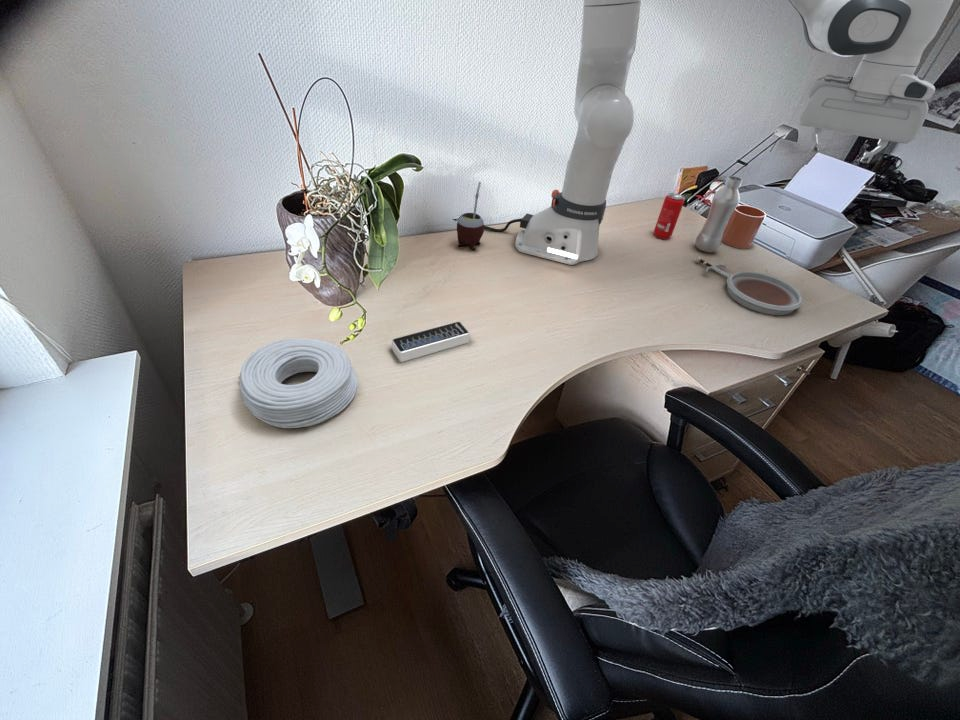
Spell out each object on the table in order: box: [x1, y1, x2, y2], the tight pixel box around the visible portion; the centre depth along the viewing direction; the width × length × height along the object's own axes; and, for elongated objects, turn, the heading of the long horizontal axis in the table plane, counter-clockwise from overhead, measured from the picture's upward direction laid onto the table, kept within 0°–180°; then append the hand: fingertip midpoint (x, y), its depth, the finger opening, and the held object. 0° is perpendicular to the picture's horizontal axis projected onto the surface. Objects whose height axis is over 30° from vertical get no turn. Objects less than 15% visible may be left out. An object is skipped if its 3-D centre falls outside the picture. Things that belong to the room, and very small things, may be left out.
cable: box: [238, 337, 358, 429], centre depth 74 cm, size 18×18×6 cm
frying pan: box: [695, 256, 803, 316], centre depth 114 cm, size 17×3×28 cm
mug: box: [721, 204, 767, 250], centre depth 133 cm, size 12×9×10 cm
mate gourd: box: [456, 181, 485, 252], centre depth 116 cm, size 8×8×15 cm
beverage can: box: [653, 192, 686, 240], centre depth 131 cm, size 5×5×12 cm
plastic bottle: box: [695, 175, 743, 253], centre depth 124 cm, size 6×7×20 cm
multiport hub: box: [391, 321, 470, 363], centre depth 87 cm, size 4×14×2 cm, turn 120°
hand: (838, 157), depth 96 cm, fingers open, 8 cm apart
